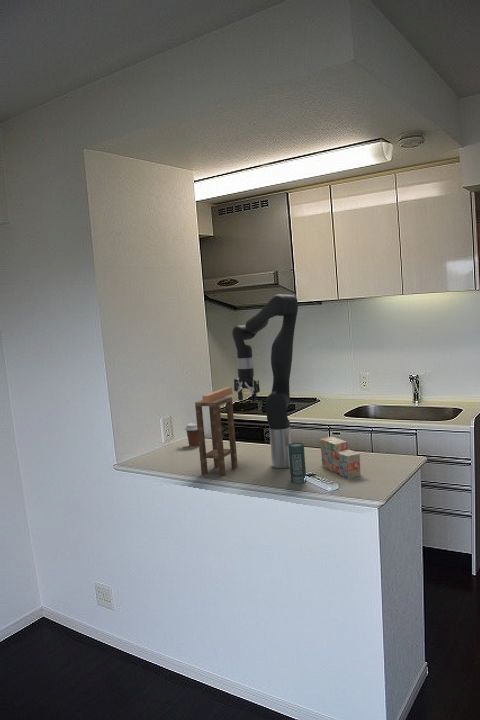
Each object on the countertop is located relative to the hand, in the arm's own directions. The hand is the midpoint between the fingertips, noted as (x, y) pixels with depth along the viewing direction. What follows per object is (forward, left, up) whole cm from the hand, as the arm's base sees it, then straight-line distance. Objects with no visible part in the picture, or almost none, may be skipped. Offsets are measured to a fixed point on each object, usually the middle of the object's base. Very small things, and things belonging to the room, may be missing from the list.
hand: (247, 400), depth 270 cm
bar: (+2, +23, +6) cm, 24 cm away
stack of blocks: (-49, +14, -27) cm, 57 cm away
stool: (+2, +27, -26) cm, 38 cm away
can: (-37, +31, -26) cm, 55 cm away
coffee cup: (+37, -8, -27) cm, 46 cm away
